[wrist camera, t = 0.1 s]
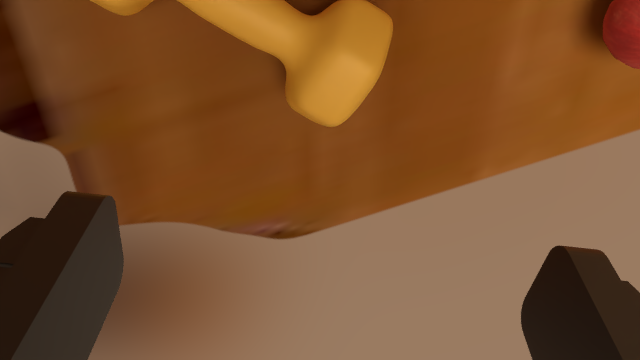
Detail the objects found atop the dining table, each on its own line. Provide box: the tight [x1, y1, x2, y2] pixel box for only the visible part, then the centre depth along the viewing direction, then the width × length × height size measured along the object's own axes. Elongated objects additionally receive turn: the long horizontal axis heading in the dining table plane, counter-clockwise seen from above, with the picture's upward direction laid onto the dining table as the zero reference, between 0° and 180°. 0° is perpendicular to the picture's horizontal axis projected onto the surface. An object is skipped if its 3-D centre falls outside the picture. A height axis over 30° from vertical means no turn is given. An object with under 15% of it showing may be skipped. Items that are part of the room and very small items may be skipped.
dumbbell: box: [90, 0, 393, 127], centre depth 32 cm, size 19×9×8 cm, turn 58°
